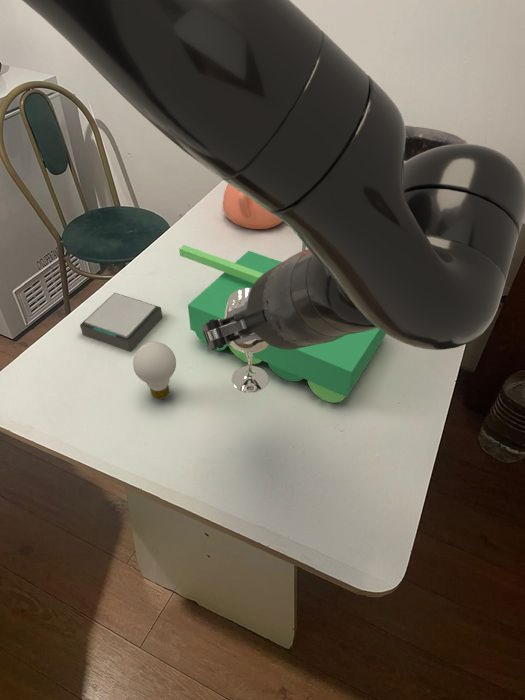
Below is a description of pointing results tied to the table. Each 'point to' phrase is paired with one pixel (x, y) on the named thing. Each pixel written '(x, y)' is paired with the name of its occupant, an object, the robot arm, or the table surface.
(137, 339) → the kitchen scale
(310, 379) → the toy tank
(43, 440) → the table surface
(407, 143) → the ceramic bowl
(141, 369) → the light bulb
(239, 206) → the teapot
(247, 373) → the wineglass
